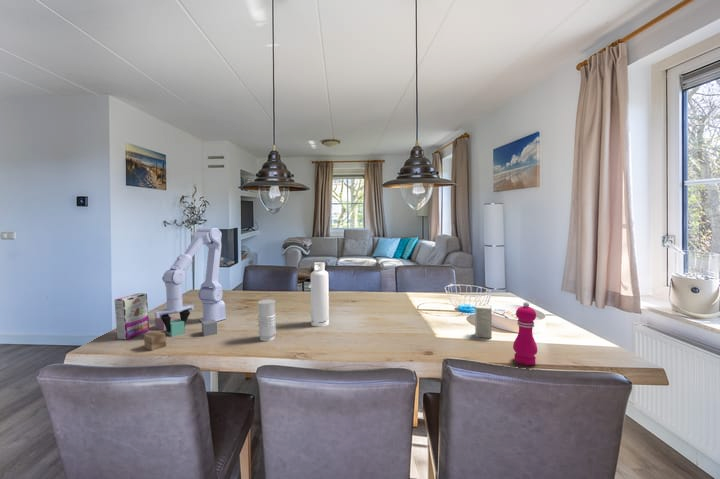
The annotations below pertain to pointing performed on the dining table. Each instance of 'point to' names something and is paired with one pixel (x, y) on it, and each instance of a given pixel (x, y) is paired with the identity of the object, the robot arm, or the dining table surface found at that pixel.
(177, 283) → the robot arm
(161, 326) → the plum block
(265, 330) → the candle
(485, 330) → the skincare box
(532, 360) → the pepper mill
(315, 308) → the bottle
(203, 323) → the charcoal block
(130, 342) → the dining table surface
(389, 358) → the dining table surface
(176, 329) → the teal block
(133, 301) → the candy bar box
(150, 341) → the walnut block
